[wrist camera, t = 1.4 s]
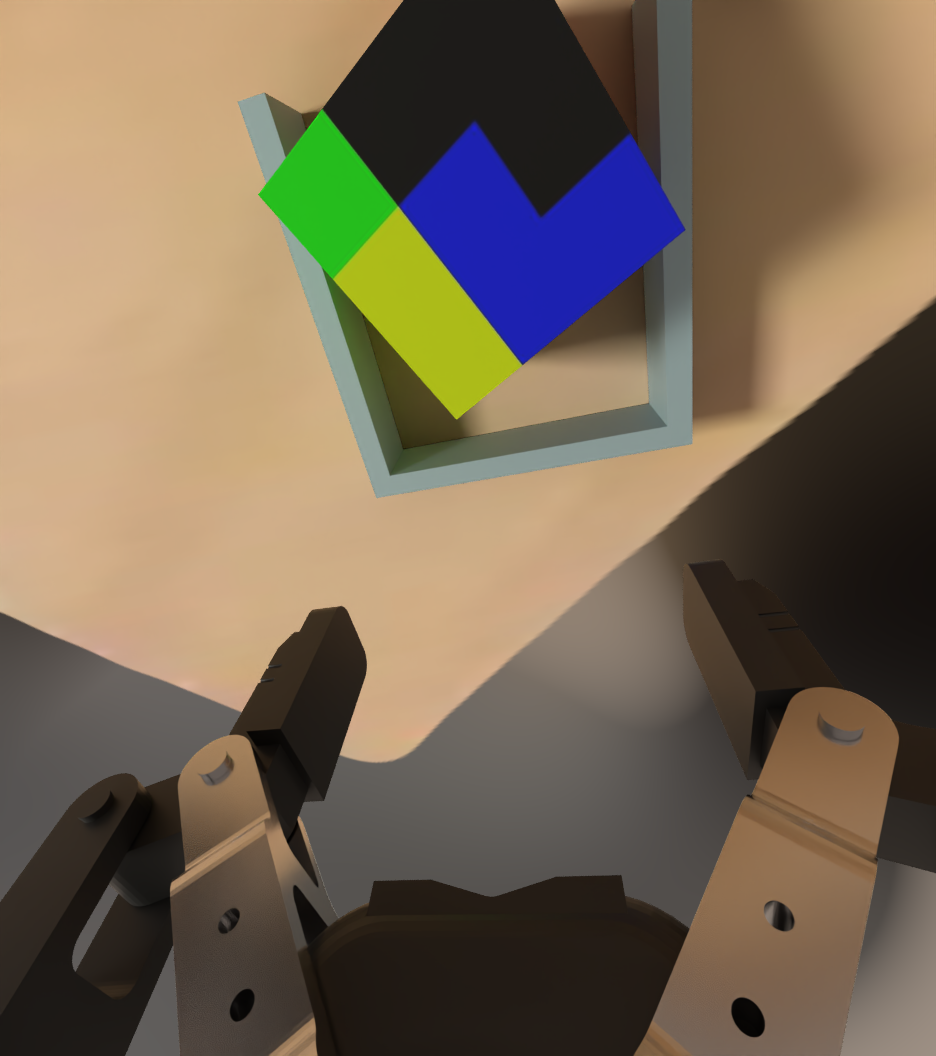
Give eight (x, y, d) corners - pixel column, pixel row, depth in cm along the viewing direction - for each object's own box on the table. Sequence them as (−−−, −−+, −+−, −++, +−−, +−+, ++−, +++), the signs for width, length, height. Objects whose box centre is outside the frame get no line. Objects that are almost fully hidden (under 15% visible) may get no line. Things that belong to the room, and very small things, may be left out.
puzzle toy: (625, 230, 25) (685, 229, 16) (473, 363, 29) (456, 419, 20) (498, 25, 21) (489, -115, 13) (344, 207, 25) (258, 194, 17)
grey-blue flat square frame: (277, 120, 23) (237, 101, 20) (661, -4, 20) (692, -52, 17) (390, 469, 32) (376, 497, 29) (671, 419, 29) (692, 444, 26)
